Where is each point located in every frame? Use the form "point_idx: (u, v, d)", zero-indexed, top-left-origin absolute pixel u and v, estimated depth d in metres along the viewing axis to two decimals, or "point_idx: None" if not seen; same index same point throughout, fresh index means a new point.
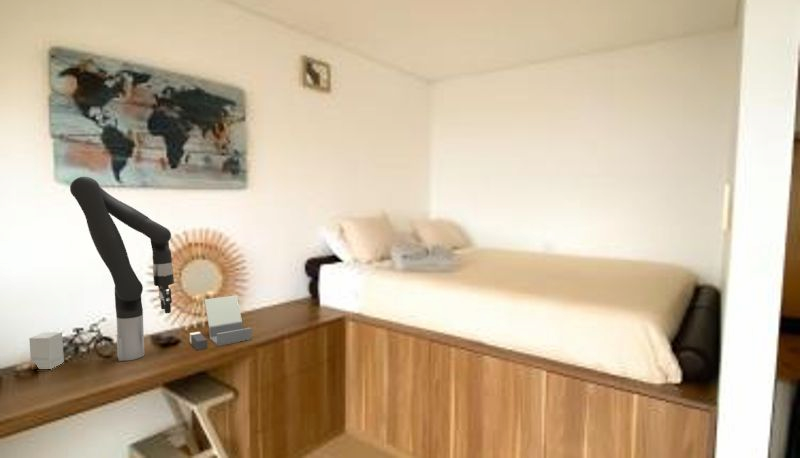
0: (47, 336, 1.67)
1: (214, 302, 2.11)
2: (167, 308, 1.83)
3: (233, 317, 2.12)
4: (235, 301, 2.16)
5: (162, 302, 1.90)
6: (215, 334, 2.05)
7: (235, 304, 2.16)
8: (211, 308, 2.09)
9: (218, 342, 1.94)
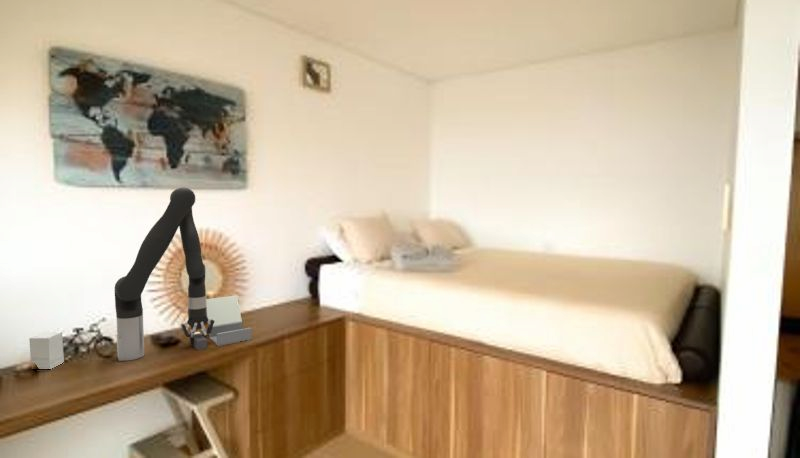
0: (47, 336, 1.67)
1: (214, 302, 2.11)
2: None
3: (233, 317, 2.12)
4: (235, 301, 2.16)
5: None
6: (215, 334, 2.05)
7: (235, 304, 2.16)
8: (211, 308, 2.09)
9: (218, 342, 1.94)
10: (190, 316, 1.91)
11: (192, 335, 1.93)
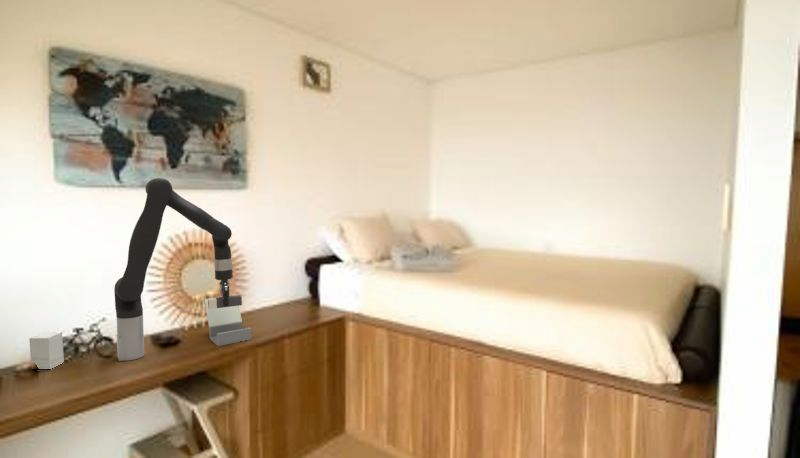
0: (47, 336, 1.67)
1: None
2: None
3: (233, 317, 2.12)
4: None
5: None
6: (215, 334, 2.05)
7: None
8: None
9: (218, 342, 1.94)
10: (228, 277, 1.99)
11: None
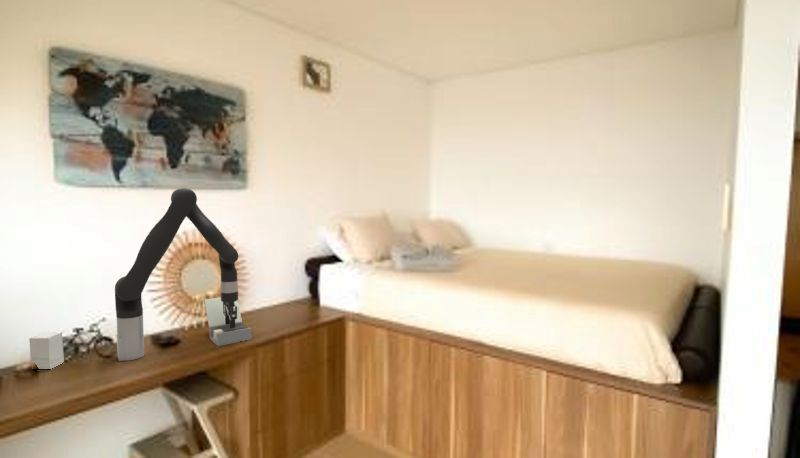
0: (47, 336, 1.67)
1: (214, 302, 2.11)
2: None
3: None
4: (235, 301, 2.16)
5: None
6: None
7: (235, 304, 2.16)
8: (211, 308, 2.09)
9: (218, 342, 1.94)
10: (235, 299, 2.01)
11: None
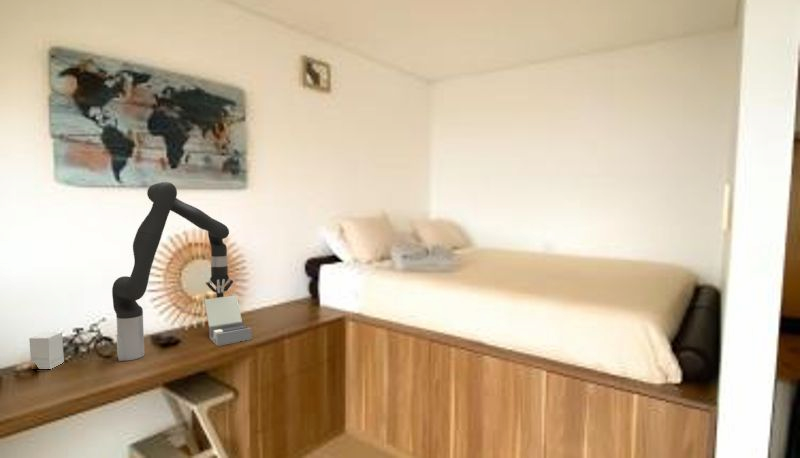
0: (47, 336, 1.67)
1: (214, 302, 2.11)
2: None
3: (233, 317, 2.12)
4: (235, 301, 2.16)
5: None
6: None
7: (235, 304, 2.16)
8: (211, 308, 2.09)
9: (218, 342, 1.94)
10: (213, 273, 2.11)
11: (219, 291, 2.13)
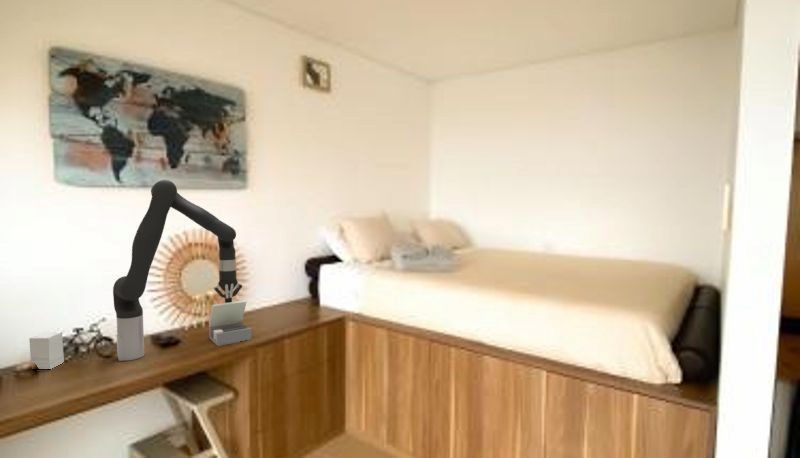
0: (47, 336, 1.67)
1: (221, 308, 2.01)
2: None
3: (235, 318, 2.10)
4: (242, 307, 2.08)
5: None
6: None
7: (241, 309, 2.08)
8: (216, 313, 2.02)
9: (218, 342, 1.94)
10: (221, 278, 2.00)
11: (227, 296, 2.03)
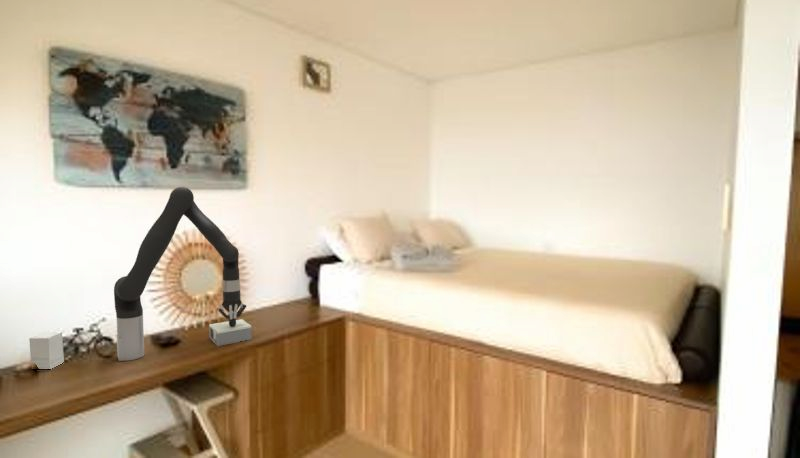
0: (47, 336, 1.67)
1: None
2: None
3: None
4: None
5: None
6: None
7: None
8: None
9: (218, 342, 1.94)
10: (225, 298, 1.97)
11: (231, 317, 2.00)
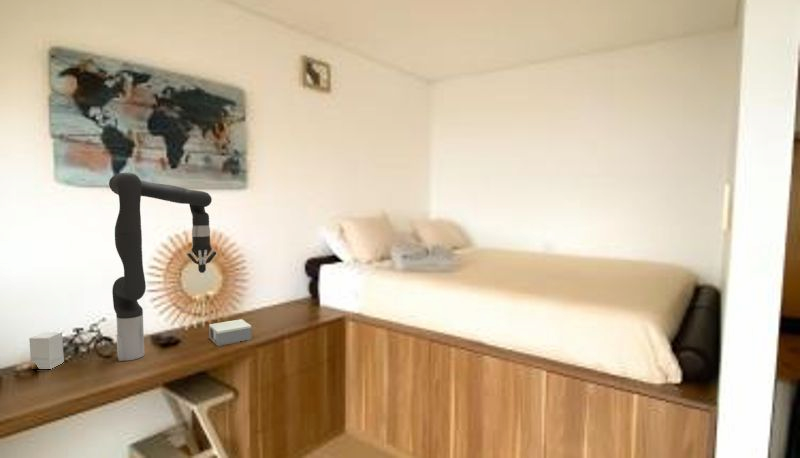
0: (47, 336, 1.67)
1: None
2: None
3: None
4: None
5: None
6: None
7: None
8: None
9: (218, 342, 1.94)
10: (194, 243, 1.99)
11: (201, 262, 2.01)
